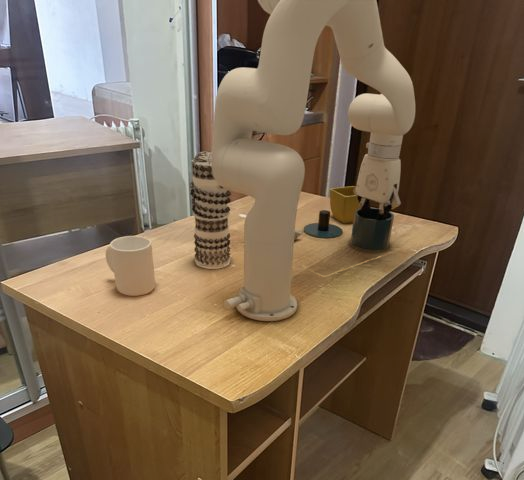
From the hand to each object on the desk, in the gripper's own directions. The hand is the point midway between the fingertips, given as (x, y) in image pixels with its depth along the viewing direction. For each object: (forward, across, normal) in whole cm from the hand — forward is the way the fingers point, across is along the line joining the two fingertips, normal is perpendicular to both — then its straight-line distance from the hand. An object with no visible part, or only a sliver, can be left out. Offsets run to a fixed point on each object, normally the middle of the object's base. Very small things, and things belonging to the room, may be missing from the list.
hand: (371, 224), depth 128 cm
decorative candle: (+7, -16, -40) cm, 43 cm away
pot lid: (+5, -14, -4) cm, 15 cm away
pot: (+6, 0, 0) cm, 6 cm away
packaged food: (+6, -15, -20) cm, 25 cm away
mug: (+7, -16, -62) cm, 64 cm away
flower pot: (+6, -16, +10) cm, 20 cm away
